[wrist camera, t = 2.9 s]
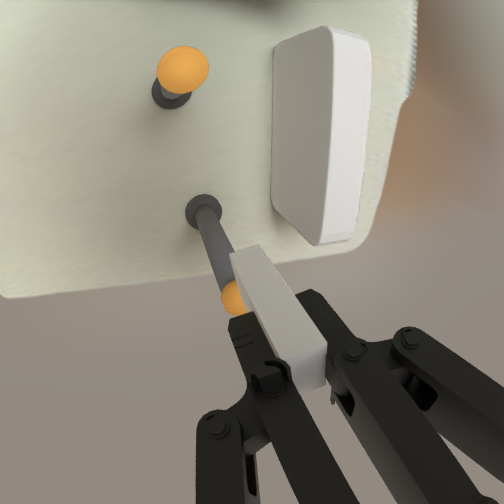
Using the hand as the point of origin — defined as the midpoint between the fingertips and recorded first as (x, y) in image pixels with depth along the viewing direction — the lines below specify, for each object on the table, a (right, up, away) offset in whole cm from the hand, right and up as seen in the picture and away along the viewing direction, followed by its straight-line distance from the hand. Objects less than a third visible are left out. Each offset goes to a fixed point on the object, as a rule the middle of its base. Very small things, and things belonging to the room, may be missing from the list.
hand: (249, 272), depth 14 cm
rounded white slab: (+6, +22, +30) cm, 38 cm away
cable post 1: (-12, +25, +22) cm, 35 cm away
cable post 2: (-8, +8, +33) cm, 35 cm away
